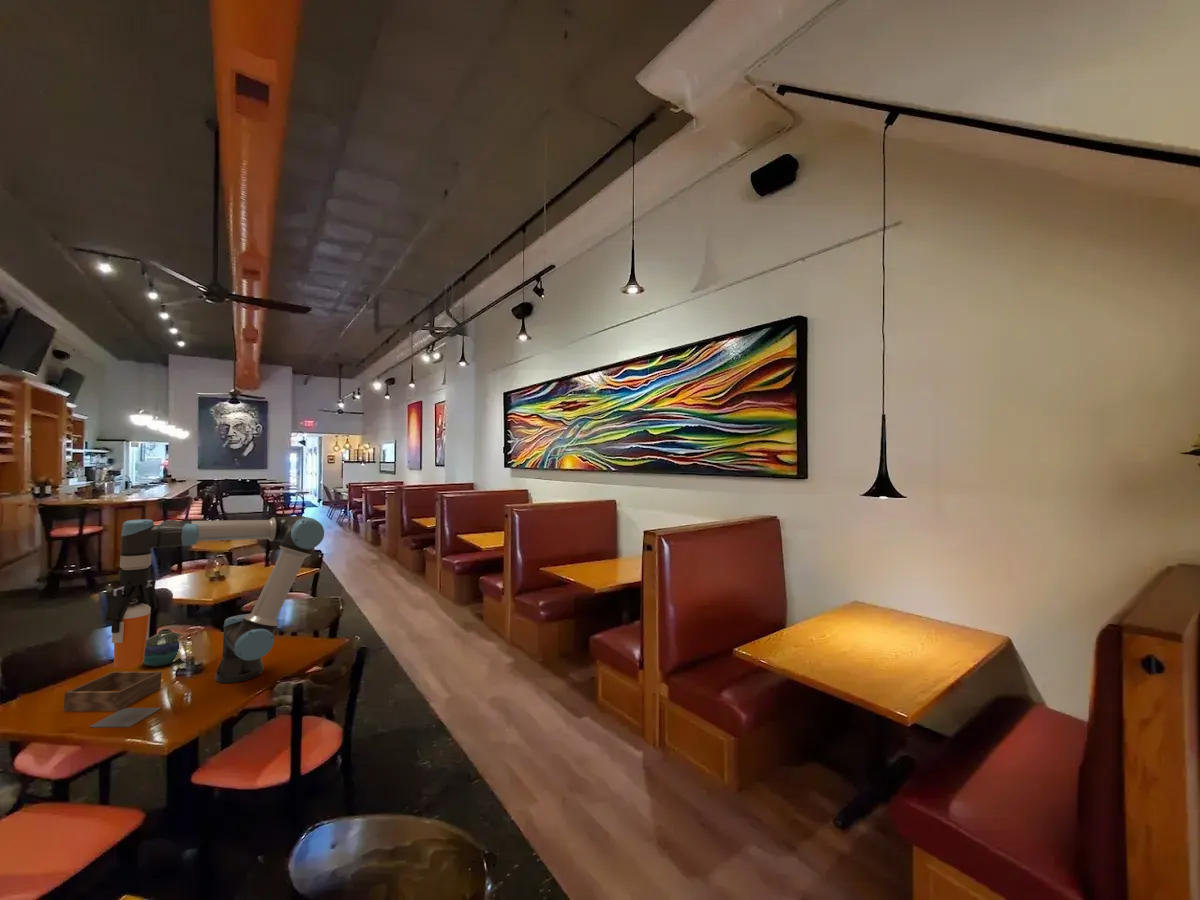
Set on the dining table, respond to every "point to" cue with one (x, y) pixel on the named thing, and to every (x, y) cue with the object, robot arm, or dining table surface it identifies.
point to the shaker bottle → (133, 635)
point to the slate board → (125, 717)
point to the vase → (161, 648)
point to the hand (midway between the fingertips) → (130, 637)
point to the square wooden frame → (102, 699)
